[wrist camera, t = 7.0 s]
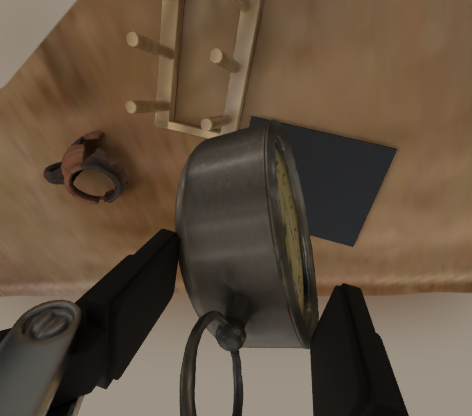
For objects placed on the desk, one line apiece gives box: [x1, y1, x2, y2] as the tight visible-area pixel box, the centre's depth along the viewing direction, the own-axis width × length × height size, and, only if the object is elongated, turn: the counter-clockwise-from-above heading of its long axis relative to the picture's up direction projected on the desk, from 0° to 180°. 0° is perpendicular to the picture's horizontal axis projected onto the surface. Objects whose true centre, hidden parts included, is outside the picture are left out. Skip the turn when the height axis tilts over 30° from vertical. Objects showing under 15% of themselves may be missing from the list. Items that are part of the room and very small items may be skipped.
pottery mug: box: [44, 132, 128, 204], centre depth 39 cm, size 12×10×8 cm
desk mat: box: [249, 116, 397, 247], centre depth 35 cm, size 18×14×1 cm
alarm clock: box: [175, 120, 319, 416], centre depth 12 cm, size 11×5×16 cm, turn 16°
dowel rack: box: [125, 0, 263, 139], centre depth 28 cm, size 11×18×10 cm, turn 169°
